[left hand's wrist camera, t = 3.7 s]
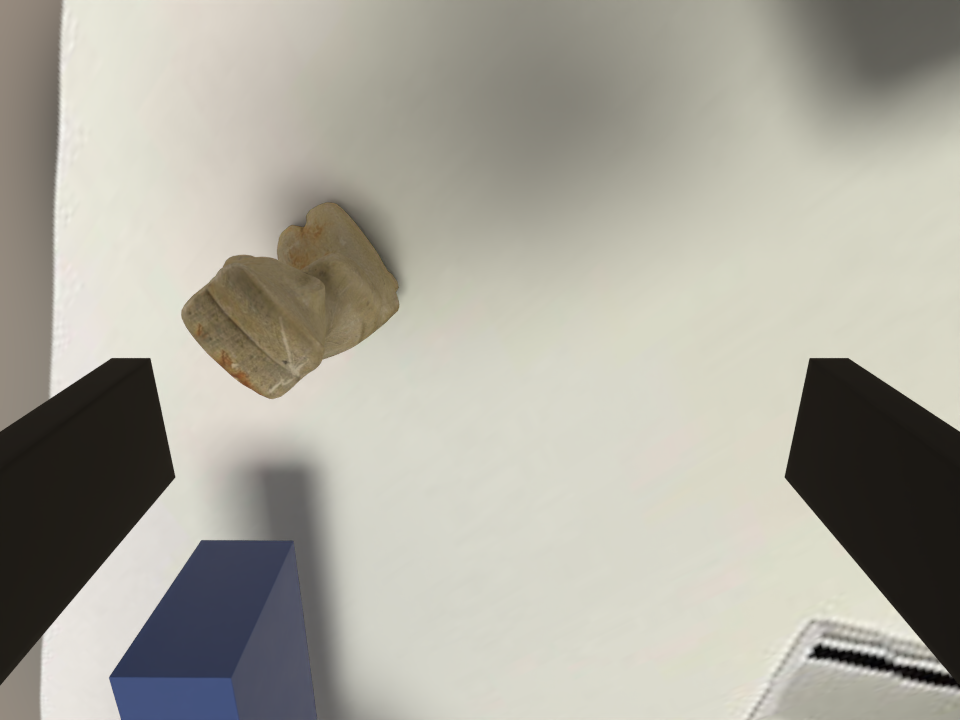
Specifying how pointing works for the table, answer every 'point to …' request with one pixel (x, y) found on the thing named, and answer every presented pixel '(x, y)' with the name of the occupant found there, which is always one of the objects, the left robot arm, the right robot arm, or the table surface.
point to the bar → (222, 641)
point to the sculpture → (293, 303)
